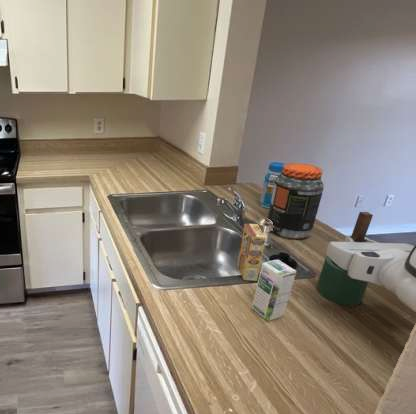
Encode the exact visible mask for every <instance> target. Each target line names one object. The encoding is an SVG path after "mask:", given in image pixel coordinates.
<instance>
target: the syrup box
mask: <svg viewBox="0 0 416 414" xmlns="http://www.w3.org/2000/svg"><path fill="white" fill-rule="evenodd" d="M296 275H297V270H296V269H295V268H293V267H291V266H289V265H288V264H286V263H285V262H282V261H281V260H280V259H273V260H268V261H265V262H263V263H261V266H260V270H259V274H258V279H257V284H256V288H255V293H254V297H253V301H252V305H251V309H252V310H253V311H255V312H256V313H257V314H258V315H259V316H260V317H262V318H263V319H264V320H265V321H266V322H270V321H273V320H277V319H280V318H282V317H284V316H285V313H286V310H287V305H288V302H289V299H290V295H291V292H292V288H293V285H294V282H295V278H296Z"/></svg>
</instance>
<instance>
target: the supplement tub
mask: <svg viewBox="0 0 416 414" xmlns="http://www.w3.org/2000/svg"><path fill="white" fill-rule="evenodd" d="M284 164H285V165H284V166H283V169H282V173H281V174H280V175H279V176H278V177H277V178H276V180H275V184H274V189H273V194H272V199H271V204H270V209H269V208H268V214H267V218H268V219H270V220H271V221H272V222H273V226H274V227H273V231H272V232H271V233H273V234H274V235H276V236H279V237H282V238H286V239H299V240H300V239H305V238H308V237H310V236H311V235H312V232H313V229H314V227H315V226H314V225H315V221H316V218H317V215H318V212H319V208H320V203H321V201H322V197H323V192H324V188H325V183H324V181H323V179H322V175H323V169H322V168H321V167H319V166H316V165H313V164H308V163H307V164H306V163H298V162H297V163H294V162H293V163H292V162H291V163H284Z"/></svg>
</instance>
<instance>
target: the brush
mask: <svg viewBox="0 0 416 414" xmlns="http://www.w3.org/2000/svg"><path fill="white" fill-rule="evenodd" d="M373 217H374V215H373V214H372V213H370V212H369V211H359V213H358V216H357V219H356V222H355V224H354V227H353V229H352V233H351V236H350V237H353V238H355V239H356V240H355V242H363V241H364V238H365V237H366V235H367V233H368V230H369V228H370V224H371V222H372V220H373ZM338 267H339V266H338ZM339 268H341V267H339ZM341 269H342V268H341Z"/></svg>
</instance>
